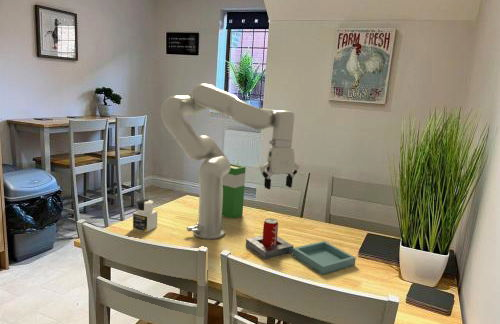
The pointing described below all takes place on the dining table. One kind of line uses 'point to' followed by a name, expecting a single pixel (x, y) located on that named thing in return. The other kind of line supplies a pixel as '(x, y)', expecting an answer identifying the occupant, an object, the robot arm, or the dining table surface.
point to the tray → (323, 257)
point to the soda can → (270, 232)
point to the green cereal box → (233, 192)
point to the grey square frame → (269, 252)
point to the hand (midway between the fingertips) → (278, 187)
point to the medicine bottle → (145, 216)
